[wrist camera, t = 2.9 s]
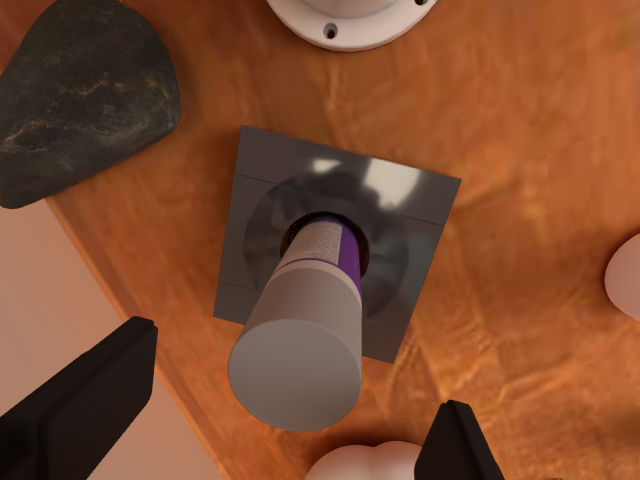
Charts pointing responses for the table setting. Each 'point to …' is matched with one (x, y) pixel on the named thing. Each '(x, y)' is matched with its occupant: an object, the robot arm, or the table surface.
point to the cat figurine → (367, 462)
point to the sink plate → (341, 198)
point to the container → (305, 333)
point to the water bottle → (625, 278)
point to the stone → (81, 97)
